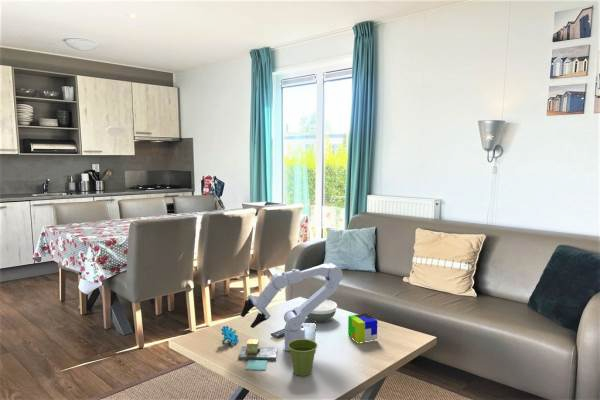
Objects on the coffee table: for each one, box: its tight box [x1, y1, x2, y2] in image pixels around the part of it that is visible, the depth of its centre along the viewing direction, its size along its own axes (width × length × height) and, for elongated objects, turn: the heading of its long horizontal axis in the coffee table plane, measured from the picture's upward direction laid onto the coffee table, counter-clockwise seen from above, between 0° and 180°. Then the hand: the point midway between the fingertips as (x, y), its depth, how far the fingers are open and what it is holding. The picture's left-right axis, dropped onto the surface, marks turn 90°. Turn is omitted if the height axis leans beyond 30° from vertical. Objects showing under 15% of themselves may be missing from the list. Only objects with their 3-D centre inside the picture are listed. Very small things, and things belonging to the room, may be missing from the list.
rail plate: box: [237, 345, 279, 362], centre depth 181 cm, size 16×10×1 cm, turn 88°
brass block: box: [246, 338, 260, 355], centre depth 181 cm, size 4×4×6 cm
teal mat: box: [245, 360, 268, 371], centre depth 172 cm, size 8×8×1 cm
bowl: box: [306, 299, 338, 323], centre depth 222 cm, size 19×19×8 cm
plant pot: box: [288, 338, 319, 377], centre depth 166 cm, size 12×12×11 cm
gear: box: [221, 325, 239, 345], centre depth 194 cm, size 11×6×10 cm
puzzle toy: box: [347, 312, 378, 344], centre depth 199 cm, size 10×10×10 cm
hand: (246, 321), depth 183 cm, fingers open, 7 cm apart
